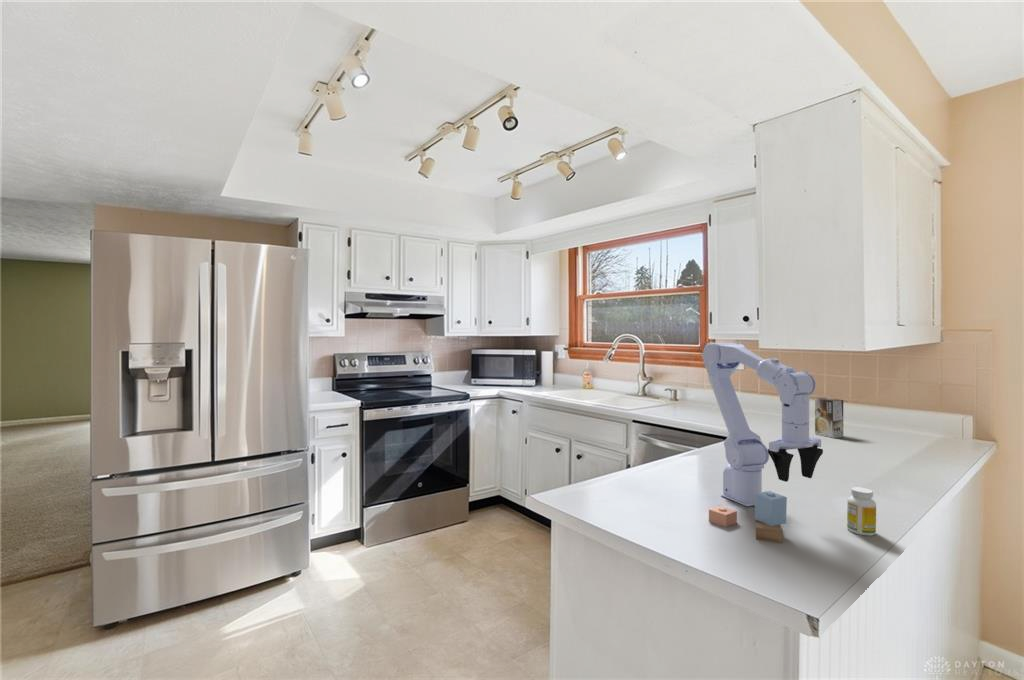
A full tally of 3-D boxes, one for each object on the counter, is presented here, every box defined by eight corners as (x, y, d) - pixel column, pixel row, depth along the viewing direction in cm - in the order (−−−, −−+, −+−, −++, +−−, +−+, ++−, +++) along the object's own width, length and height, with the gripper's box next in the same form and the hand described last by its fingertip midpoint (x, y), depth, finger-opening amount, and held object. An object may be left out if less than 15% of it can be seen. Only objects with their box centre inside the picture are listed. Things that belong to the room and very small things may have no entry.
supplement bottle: (845, 531, 111) (845, 489, 111) (849, 524, 115) (849, 484, 115) (874, 538, 108) (874, 495, 108) (877, 531, 112) (877, 489, 112)
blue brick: (754, 519, 112) (755, 491, 112) (769, 516, 114) (769, 489, 114) (771, 526, 108) (771, 497, 108) (786, 523, 110) (786, 495, 110)
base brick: (755, 524, 117) (755, 512, 117) (778, 528, 115) (778, 515, 115) (755, 540, 108) (756, 527, 108) (781, 545, 106) (781, 531, 106)
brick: (708, 521, 118) (708, 508, 118) (719, 517, 121) (719, 504, 121) (725, 527, 115) (725, 513, 115) (736, 523, 117) (736, 509, 117)
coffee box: (844, 437, 209) (844, 399, 209) (833, 438, 207) (833, 400, 207) (824, 433, 218) (825, 397, 218) (813, 434, 216) (814, 397, 216)
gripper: (786, 427, 111) (786, 486, 111) (833, 423, 116) (832, 480, 116) (761, 422, 118) (761, 478, 118) (806, 418, 122) (806, 472, 123)
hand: (795, 478), depth 117 cm, fingers open, 7 cm apart
